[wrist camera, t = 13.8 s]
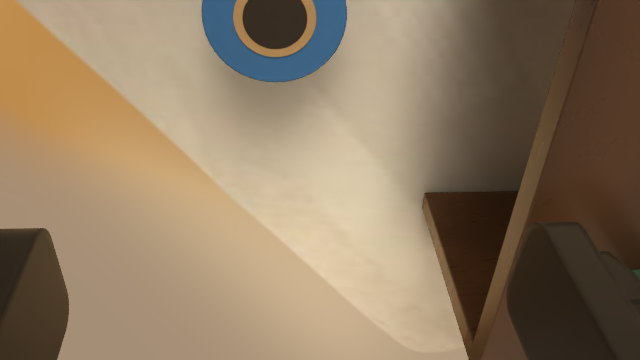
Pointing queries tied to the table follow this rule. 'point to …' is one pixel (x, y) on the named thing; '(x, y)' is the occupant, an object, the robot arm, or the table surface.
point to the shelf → (553, 178)
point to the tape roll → (274, 35)
